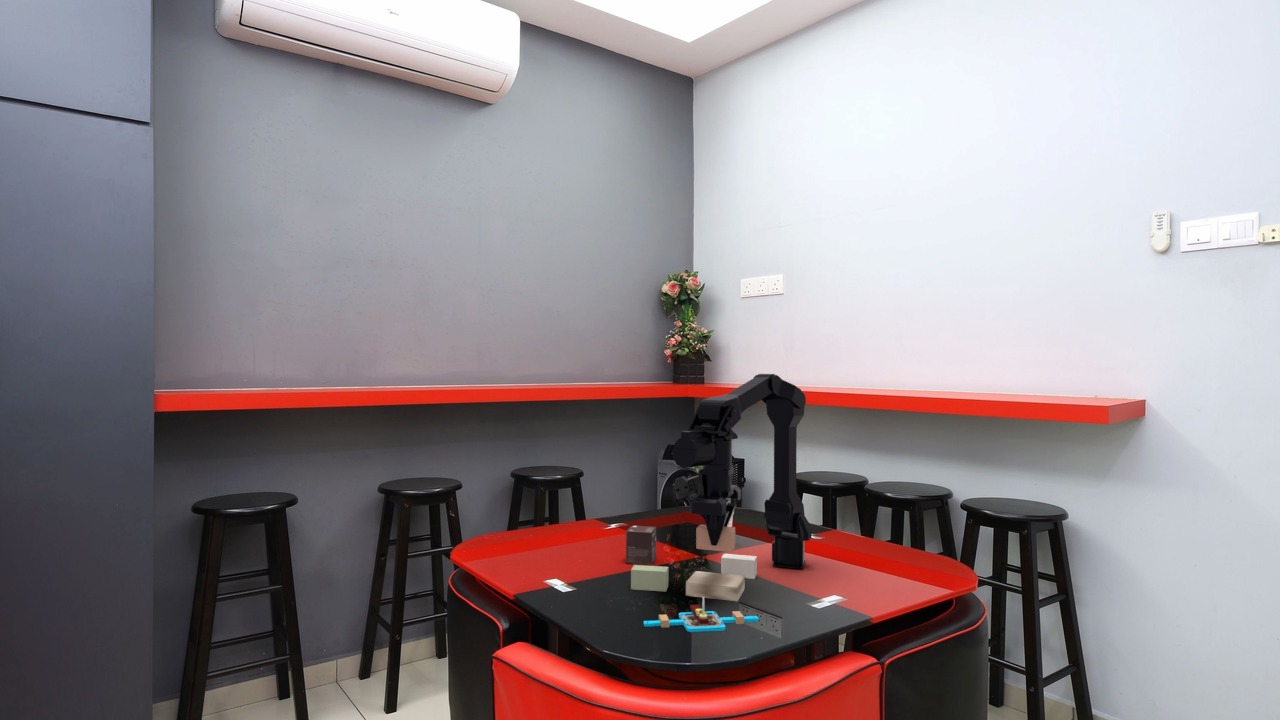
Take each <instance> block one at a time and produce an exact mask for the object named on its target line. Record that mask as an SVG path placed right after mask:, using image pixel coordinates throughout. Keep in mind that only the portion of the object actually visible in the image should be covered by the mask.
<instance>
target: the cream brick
mask: <svg viewBox="0 0 1280 720" xmlns="http://www.w3.org/2000/svg"><path fill="white" fill-rule="evenodd" d="M757 557H758V556H756V555H746V554H745V555H743V554H733V553H732V554H731V553H723V554H722V556H721V557H720V559H721V560H720V561H721V562H720V563H721V565H720V573H721V574H731V575H742V576H745V579H749V580H755V579H756V577H757V575H758V574H757V570H758V569H757V567H758V566H757V563H758V561H757V560H758V558H757Z"/></svg>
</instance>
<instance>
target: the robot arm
mask: <svg viewBox="0 0 1280 720" xmlns="http://www.w3.org/2000/svg"><path fill="white" fill-rule="evenodd" d="M759 402H762V403H763V404H764V405H765V407H766V409H765V411H766V416H767V418H768V420H769V421H770V423H771V424H772V426H773V492H772V493H771V495H770V497H769V498H768V499H765V501H764V515H763V518H764V522H765V525H766V532H767V536H772V537H774V540H773V541H772V543H771V561H772V566H773V567H776V568H777V567H778V568H788V569H796V570H797V569H798V570H802V569H803V568H804V567H805V564H806V559H805V542H809V541H810V540H811V539H812V537H813V531H814V529H813V527H812V526H811V524H810V522H809V520H808V519H807V517H806V514H805V506H804V503H803V501H802V499H801V497H800V496H799V494H798V493H797V439H798V438H797V429H798V426H799V424H800V423H801V420H802V419H803V417H804V416H805V407H806V402H807V398H806V394H805V393H804V392H803V391H802V389H801V388H800V387H798V386H796V385H795V384H792V383H790V382H788V381H786V380H784V379H782V378H781V377H780V376H779V375H778V374H775V373H758V374H756V375H754V377H753V378H751V379H750V380H748V381H746V382H744V383H743V384H741V385H740V386H738V387H736V388H735V389H733V390H732V391H730V392H728V393H726V394H722V395H716V396H710V397H707V398H704V399H702V400H701V401H700V402H699V403H698V406H697V409H696V411H695V413H694V415H693V417H692V420H691V421H690V424H689V426H688V428H687V430H682V431H680V438H678V439H677V440H676V441H675V442H674V444H673V447H672V457H673V458H672V459H673V460H674V462H675V464H676V465H677V466H678V467H680V468H682V469H690V468H694V467H700V466H702V467H701V468H699V470H698V471H697V473H698V474H697V475H694V476H691V477H688V478H687V477H686V476H685V475H683V476H681V477H677V478H675V479H674V483H673V484H672V488H673V489H672V493H673V494H675V495H676V498H677V500H681V499H684V497H685V498H686V497H687V496H691V495H692V496H693V495H695V494H696V495H697V496H695V497H694V498H693V499H692V500H691V501H690V502H689V513H690V514H693V515H699V516H700V517H701V518H702V519H703V520H704V523H705V525H706V527H707V530H708V534H709V538H710V542H711V545H714V546H716V545H717V544H718V541H719V538H720V536H721V533H722V530H723V527H724V526H725V527H727V526H728V524H729V521H730V519H731V516H732V514H733V512H734V513H735V510H736V507H737V503H735V502H734V503H733V502H730V499H734V500H735V501H736V502H739V501H740V500H741V499H742V489H741V488H740V487H739V486H738V485H736V484H732V475H733V474H734V473H735V472H734V471H735V470H734V469H735V468H734V467H732V458H733V456H732V454H733V453H732V452H733V450H732V449H733V447H732V446H733V445H732V444H733V443H732V442H733V440H735V439H736V440H737V439H738V437H739V436H738V434H737V433H736V432H735V431H734V430H733V428H735V426H736V425H737V424H738V423H739V422H740V421H741V420H742V414H743V413H744V412H746V411H747V410H748V409H749V408H751V407H752V406H755V405H756V404H757V403H759ZM733 515H734V514H733Z"/></svg>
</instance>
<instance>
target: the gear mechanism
mask: <svg viewBox="0 0 1280 720" xmlns="http://www.w3.org/2000/svg"><path fill="white" fill-rule="evenodd" d="M701 599H702V601H701V606H700V604H690V605H689V609H690V612H689V611H687V612H679V613H678V618H679V619H669V616H668V615H667V614H658V619H657V620H643V626H644V628H645V627H661V628H662V629H663V628H670V626H683V627H684V628H685V630H686V631H687V632H689V633H694V632H695V633H696V632H697V633H698V632H719V631H720V632H721V631H722V632H723V631H726V625H725V624H730V623H733V624H736V625H745V623H755V622H756V623H758V622H760V619H759V617H758V616H757V615H749V616H748V615H747V616H744V615H743V614H742V612H741V611H738V610H736V611H731V616H727V617H724V616H723V617H720V616H719V615H718V613H717V612H716V611H713V610H711V611H709V610H707V611H705V609H706V608H705V607H706V606H705V604H706V603H705V599H706V598H705V597H701Z"/></svg>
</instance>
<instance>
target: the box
mask: <svg viewBox="0 0 1280 720" xmlns="http://www.w3.org/2000/svg"><path fill="white" fill-rule="evenodd" d="M625 532H626V533H625V535H626V537H625V563H626V564H633V565H646V566H652V565H653V564H654V562H655V561H656V559H657V527H656V526H646V525H645V526H644V525H643V526H642V525H631V526H630V527H628V529H627V530H626V531H625Z"/></svg>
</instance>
